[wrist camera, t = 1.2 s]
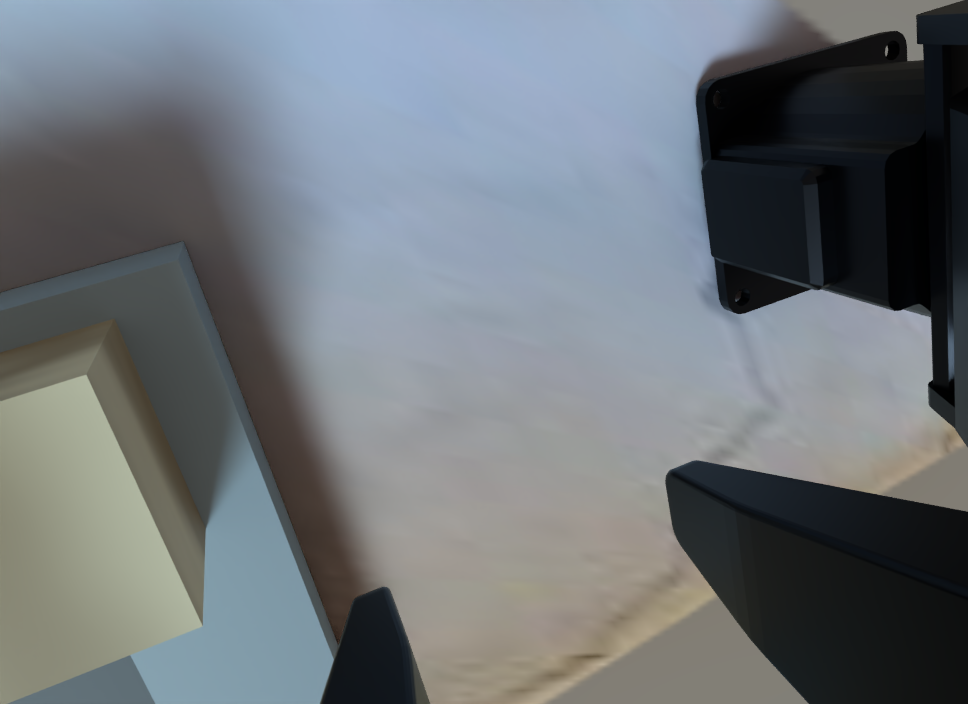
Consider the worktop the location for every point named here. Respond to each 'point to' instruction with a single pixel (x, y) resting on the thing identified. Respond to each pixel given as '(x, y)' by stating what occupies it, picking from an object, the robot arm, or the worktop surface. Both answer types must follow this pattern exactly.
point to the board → (195, 495)
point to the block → (88, 514)
